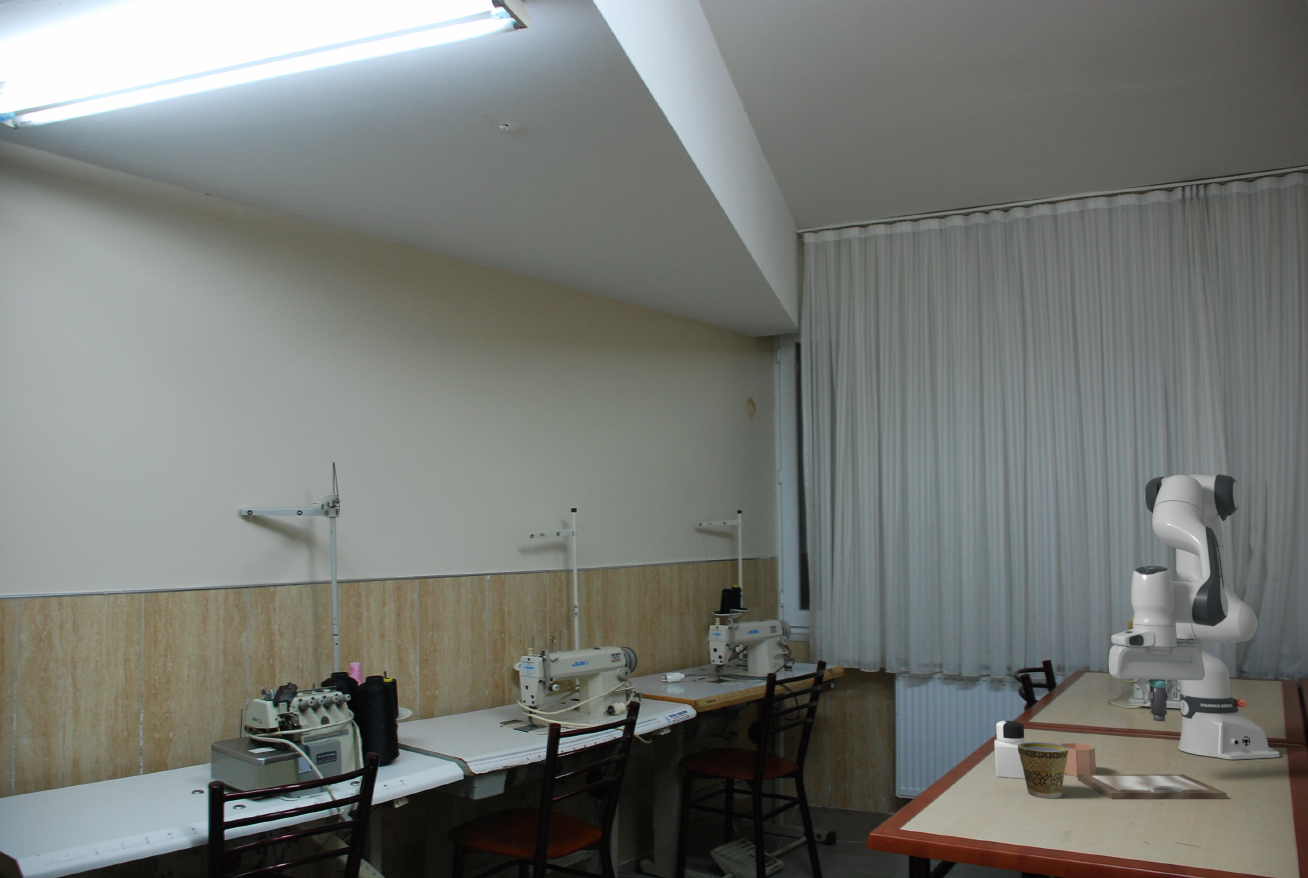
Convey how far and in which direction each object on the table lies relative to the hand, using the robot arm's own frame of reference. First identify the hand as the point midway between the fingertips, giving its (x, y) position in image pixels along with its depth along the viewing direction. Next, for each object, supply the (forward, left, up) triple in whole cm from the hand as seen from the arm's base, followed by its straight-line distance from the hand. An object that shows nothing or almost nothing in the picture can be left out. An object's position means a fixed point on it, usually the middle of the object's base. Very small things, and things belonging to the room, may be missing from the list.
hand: (1158, 699), depth 210 cm
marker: (0, 0, -5) cm, 4 cm away
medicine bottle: (+31, -8, -18) cm, 37 cm away
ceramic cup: (+31, +8, -18) cm, 37 cm away
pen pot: (+15, -10, -18) cm, 25 cm away
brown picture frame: (+6, +5, -18) cm, 20 cm away
